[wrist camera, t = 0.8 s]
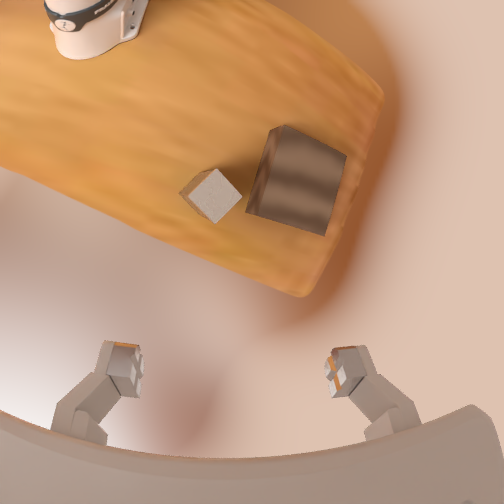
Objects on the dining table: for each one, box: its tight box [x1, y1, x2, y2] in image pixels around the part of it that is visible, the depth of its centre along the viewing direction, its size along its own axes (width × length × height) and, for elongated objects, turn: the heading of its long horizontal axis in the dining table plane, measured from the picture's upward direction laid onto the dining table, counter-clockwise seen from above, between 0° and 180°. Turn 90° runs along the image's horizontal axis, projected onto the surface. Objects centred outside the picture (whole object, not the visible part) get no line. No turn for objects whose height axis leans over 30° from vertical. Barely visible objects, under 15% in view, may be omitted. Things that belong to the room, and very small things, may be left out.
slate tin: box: [179, 168, 242, 224], centre depth 42 cm, size 5×5×12 cm
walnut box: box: [246, 125, 347, 236], centre depth 50 cm, size 16×14×6 cm
